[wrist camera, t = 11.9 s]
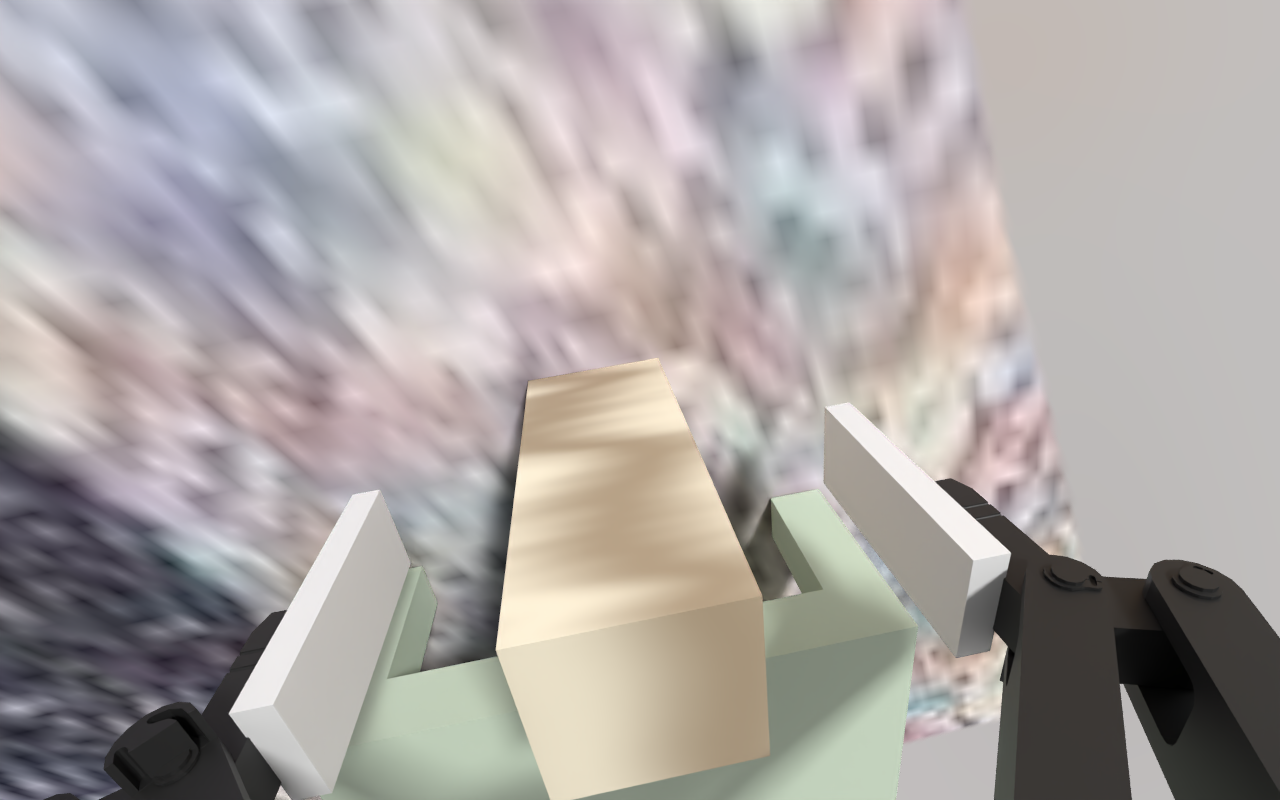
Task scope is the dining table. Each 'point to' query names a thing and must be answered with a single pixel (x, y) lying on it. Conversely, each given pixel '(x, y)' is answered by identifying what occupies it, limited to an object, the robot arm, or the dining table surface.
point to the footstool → (725, 796)
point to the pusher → (626, 592)
